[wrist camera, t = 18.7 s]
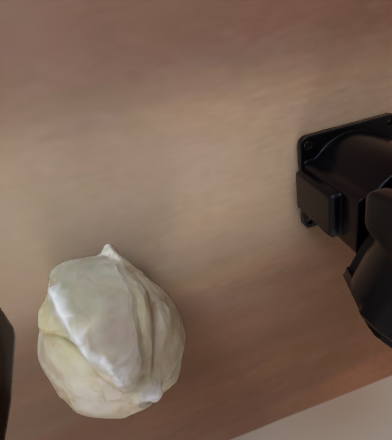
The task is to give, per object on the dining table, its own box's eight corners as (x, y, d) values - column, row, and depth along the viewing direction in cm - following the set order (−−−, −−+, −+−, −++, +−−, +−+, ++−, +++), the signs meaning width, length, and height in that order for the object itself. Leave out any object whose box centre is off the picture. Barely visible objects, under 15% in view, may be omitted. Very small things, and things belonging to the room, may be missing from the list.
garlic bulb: (70, 223, 24) (17, 260, 14) (193, 248, 25) (221, 299, 15) (44, 353, 25) (-24, 473, 15) (163, 371, 26) (172, 491, 16)
